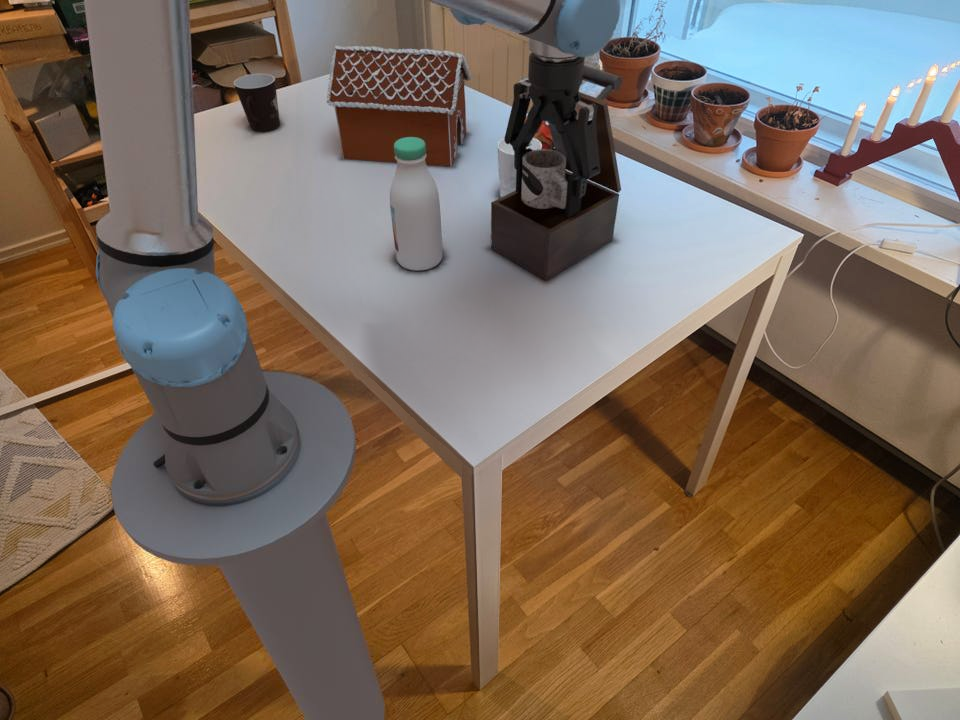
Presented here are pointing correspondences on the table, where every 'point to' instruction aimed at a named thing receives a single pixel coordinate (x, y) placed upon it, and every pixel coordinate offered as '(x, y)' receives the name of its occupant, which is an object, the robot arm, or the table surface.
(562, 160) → the mug
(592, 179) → the lid
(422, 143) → the milk bottle
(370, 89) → the gingerbread house
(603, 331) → the table surface
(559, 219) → the chest
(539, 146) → the white cup
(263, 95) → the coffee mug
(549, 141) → the dragon fruit
